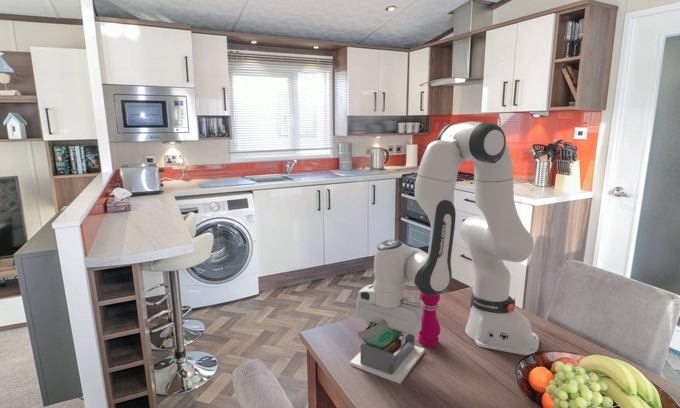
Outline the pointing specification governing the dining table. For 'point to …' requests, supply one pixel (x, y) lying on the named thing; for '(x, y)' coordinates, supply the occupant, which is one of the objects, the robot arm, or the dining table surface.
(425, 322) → the pepper mill
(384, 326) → the food container
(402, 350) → the slot stand
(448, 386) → the dining table surface
